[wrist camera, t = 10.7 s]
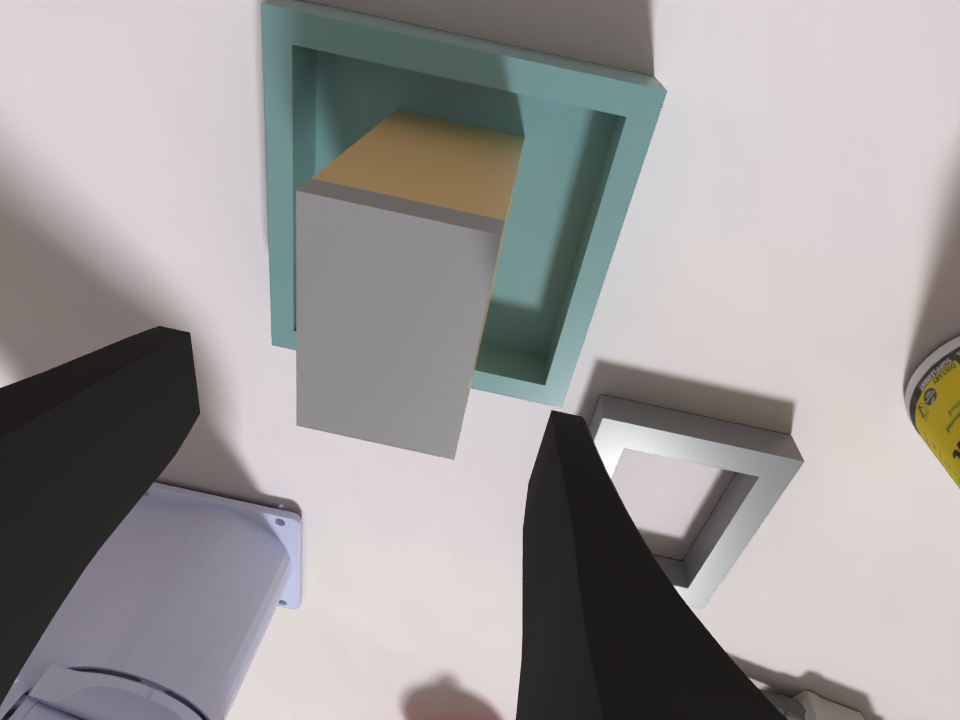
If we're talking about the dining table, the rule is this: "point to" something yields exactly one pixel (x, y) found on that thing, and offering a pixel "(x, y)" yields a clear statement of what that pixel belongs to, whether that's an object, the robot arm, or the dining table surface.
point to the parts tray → (479, 103)
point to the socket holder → (716, 443)
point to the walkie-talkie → (811, 707)
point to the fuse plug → (399, 279)
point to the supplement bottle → (938, 405)
